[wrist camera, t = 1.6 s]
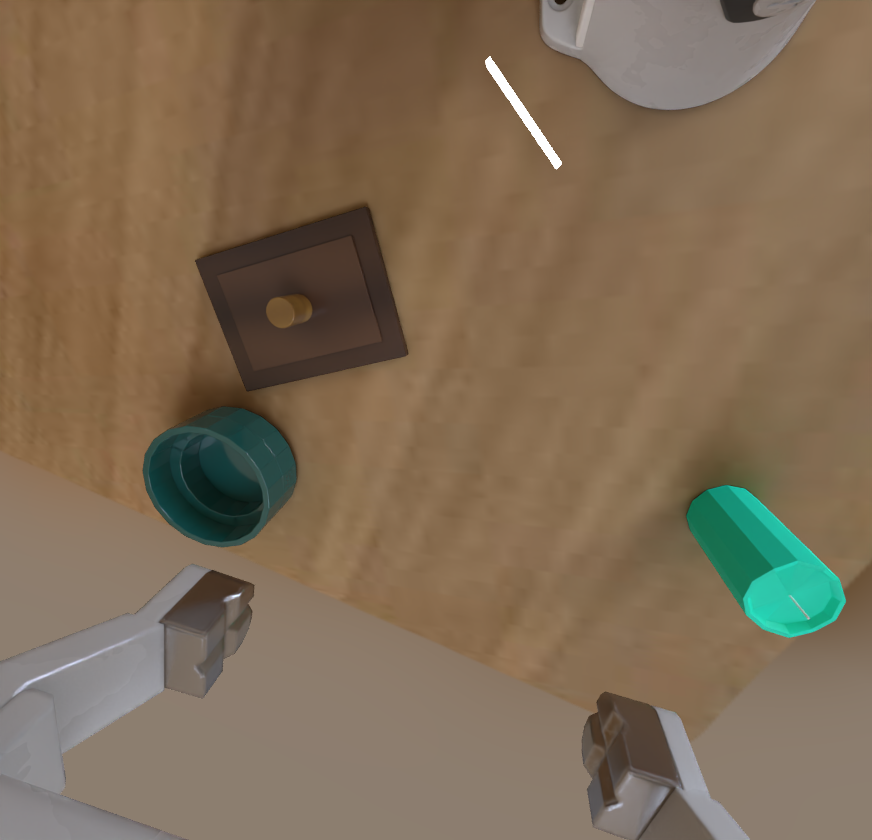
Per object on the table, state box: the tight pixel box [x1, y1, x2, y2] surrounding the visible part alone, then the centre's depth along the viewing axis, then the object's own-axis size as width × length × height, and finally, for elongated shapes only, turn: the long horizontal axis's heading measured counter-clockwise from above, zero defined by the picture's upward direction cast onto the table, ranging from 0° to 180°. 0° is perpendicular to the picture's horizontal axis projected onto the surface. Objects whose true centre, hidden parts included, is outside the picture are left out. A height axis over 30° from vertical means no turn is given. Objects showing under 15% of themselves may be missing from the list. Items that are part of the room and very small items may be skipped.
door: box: [195, 207, 408, 391], centre depth 36 cm, size 12×16×4 cm
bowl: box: [143, 406, 297, 547], centre depth 42 cm, size 12×12×6 cm
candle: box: [686, 485, 846, 638], centre depth 33 cm, size 6×6×12 cm
